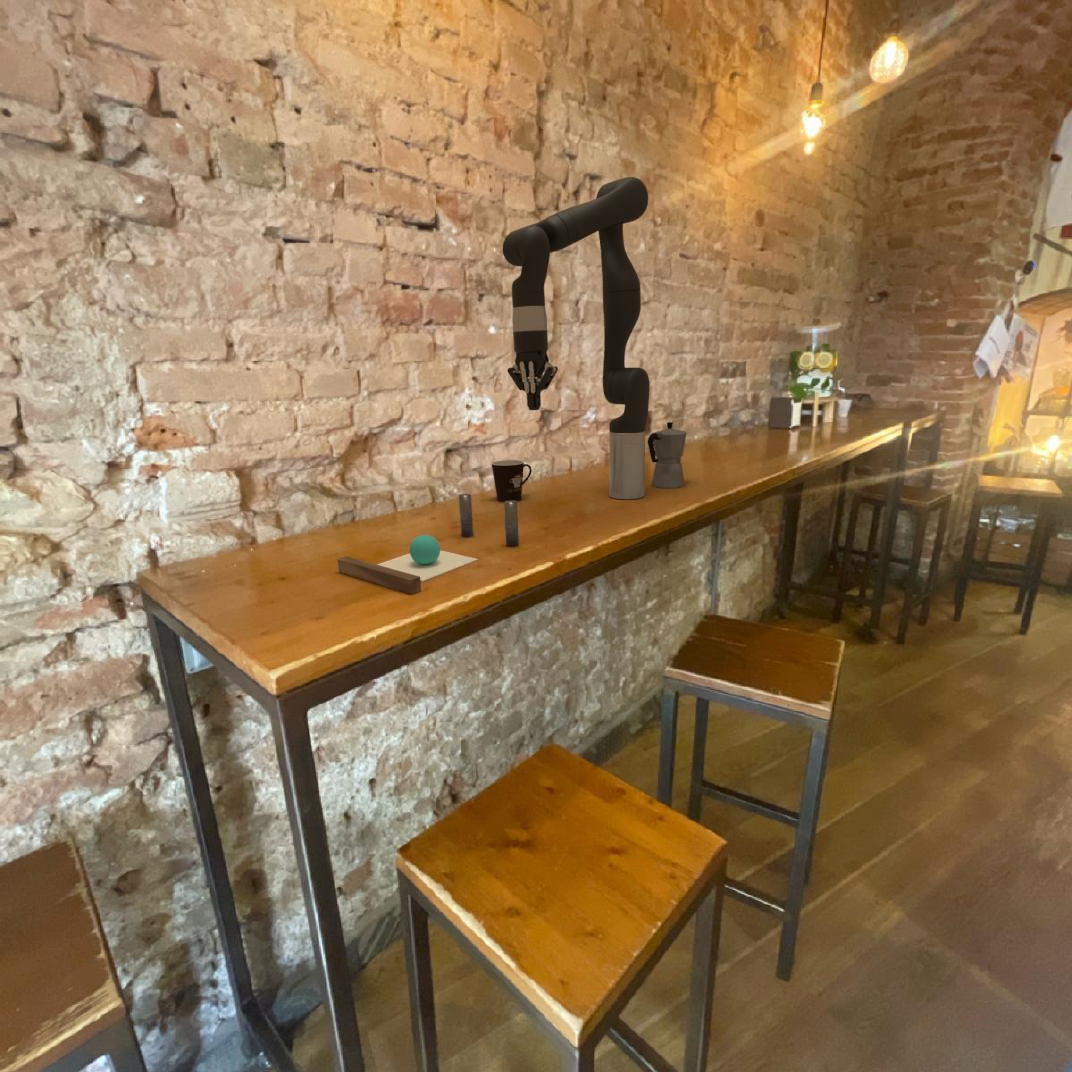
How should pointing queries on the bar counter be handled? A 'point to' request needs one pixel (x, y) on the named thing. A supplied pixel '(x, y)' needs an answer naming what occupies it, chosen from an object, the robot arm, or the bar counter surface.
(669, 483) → the coffeepot
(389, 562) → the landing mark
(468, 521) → the post
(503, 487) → the coffee mug
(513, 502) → the post
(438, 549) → the ball
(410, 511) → the bar counter surface
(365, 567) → the wall
